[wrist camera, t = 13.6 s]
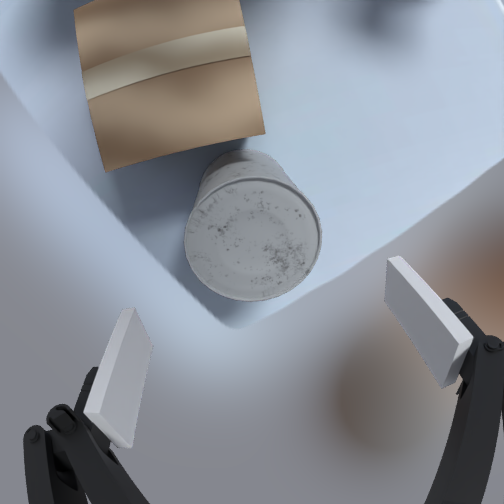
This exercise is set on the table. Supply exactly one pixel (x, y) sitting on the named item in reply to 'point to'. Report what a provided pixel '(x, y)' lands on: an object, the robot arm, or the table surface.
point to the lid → (166, 76)
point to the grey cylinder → (251, 229)
